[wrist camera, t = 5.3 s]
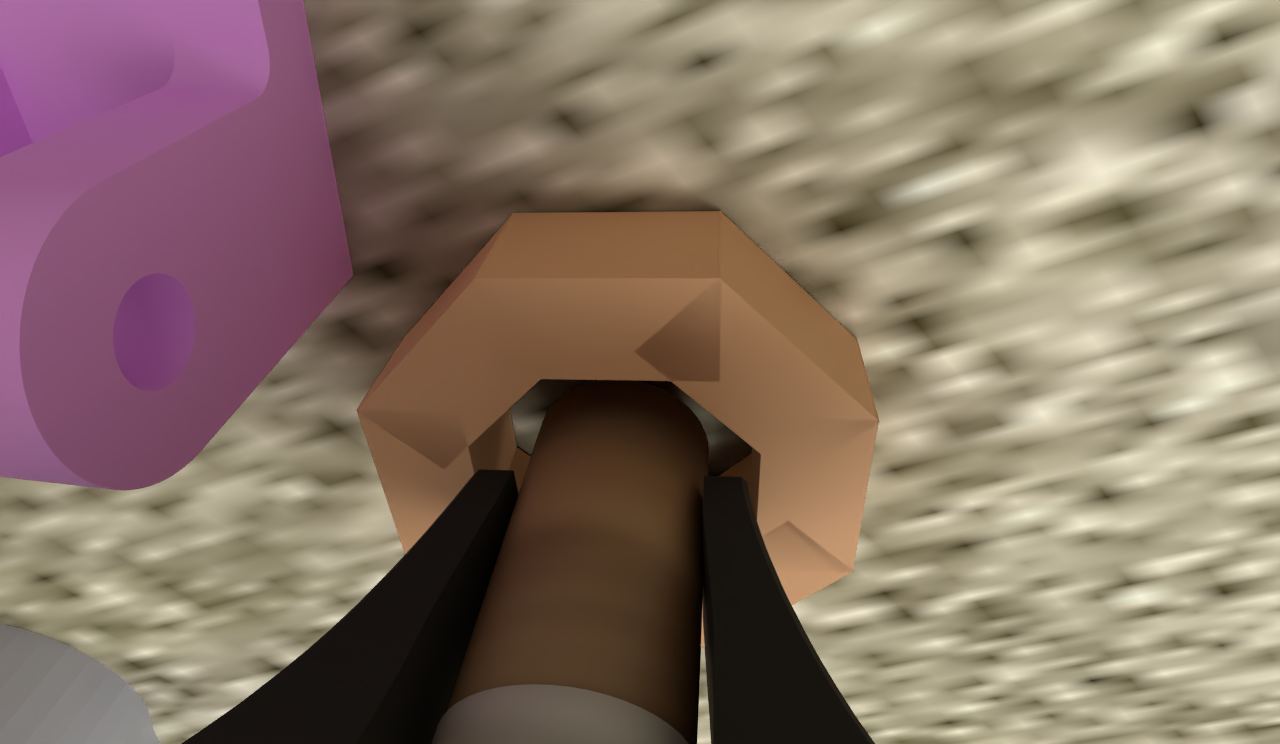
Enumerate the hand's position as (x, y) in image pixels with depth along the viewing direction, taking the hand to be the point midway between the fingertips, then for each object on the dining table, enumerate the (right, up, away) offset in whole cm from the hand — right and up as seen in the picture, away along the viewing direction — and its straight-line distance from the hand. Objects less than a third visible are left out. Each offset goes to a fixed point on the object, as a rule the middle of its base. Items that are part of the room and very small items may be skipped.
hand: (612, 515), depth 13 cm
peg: (0, +1, +1) cm, 2 cm away
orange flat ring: (0, +2, +2) cm, 3 cm away
